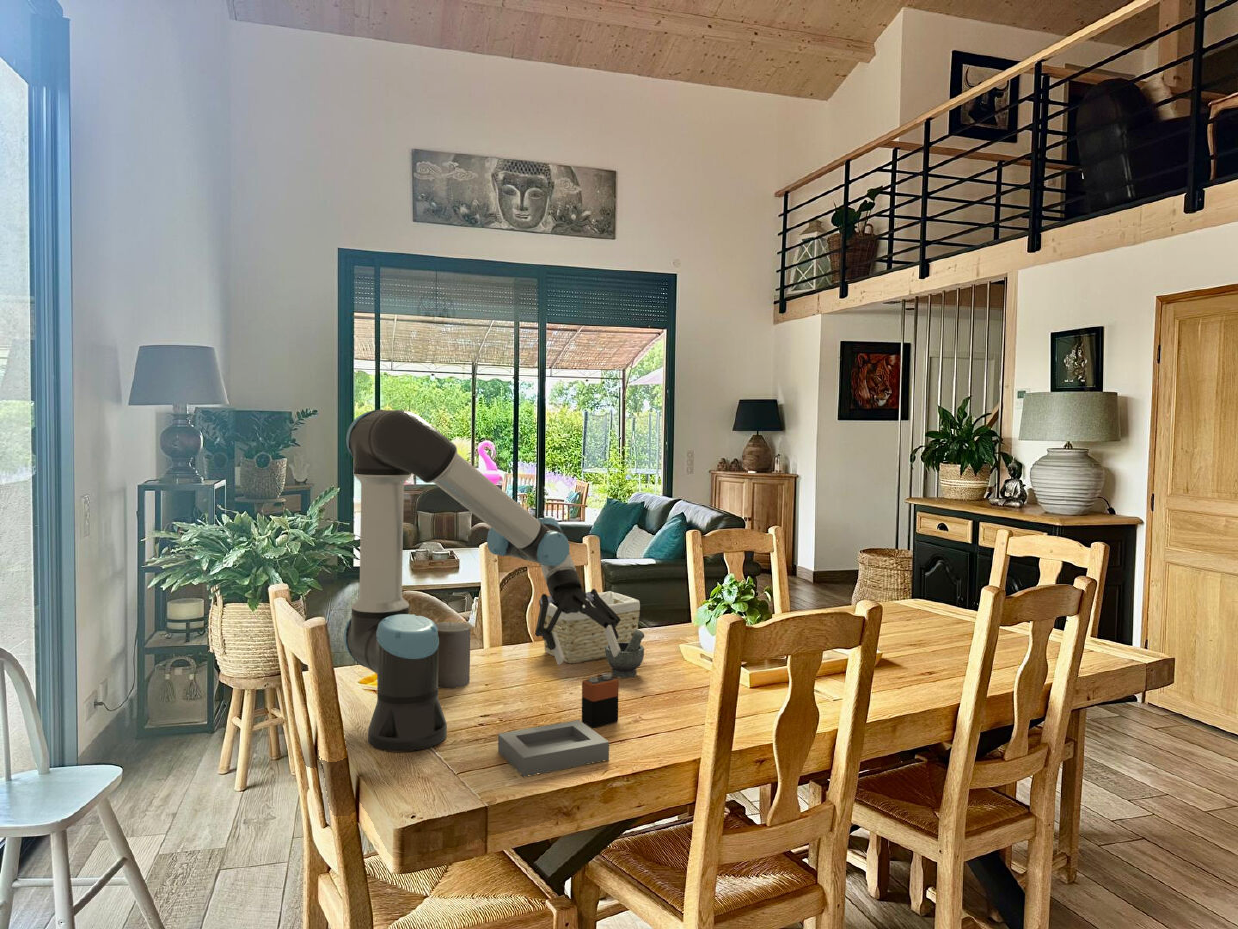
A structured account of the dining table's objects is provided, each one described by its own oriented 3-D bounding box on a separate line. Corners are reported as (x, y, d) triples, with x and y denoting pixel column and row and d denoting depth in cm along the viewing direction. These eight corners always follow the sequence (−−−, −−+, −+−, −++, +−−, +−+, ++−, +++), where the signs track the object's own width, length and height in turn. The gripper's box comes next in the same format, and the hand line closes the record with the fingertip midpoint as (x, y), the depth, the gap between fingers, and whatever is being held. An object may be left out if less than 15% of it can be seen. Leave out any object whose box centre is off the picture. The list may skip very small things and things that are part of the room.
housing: (523, 777, 151) (523, 757, 150) (498, 751, 162) (498, 733, 162) (608, 760, 159) (609, 742, 158) (578, 737, 170) (579, 719, 170)
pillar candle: (421, 686, 201) (422, 623, 200) (441, 674, 210) (442, 614, 210) (458, 691, 198) (459, 627, 197) (477, 679, 208) (478, 618, 207)
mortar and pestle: (597, 673, 213) (597, 626, 212) (624, 666, 219) (624, 620, 219) (628, 684, 205) (628, 634, 204) (655, 676, 211) (656, 628, 211)
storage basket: (565, 667, 219) (566, 610, 218) (536, 652, 233) (536, 598, 232) (642, 654, 232) (643, 600, 231) (610, 640, 246) (611, 590, 245)
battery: (619, 722, 179) (619, 675, 178) (592, 729, 175) (593, 681, 174) (606, 716, 182) (607, 670, 182) (580, 723, 178) (581, 675, 178)
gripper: (603, 581, 206) (633, 658, 194) (506, 590, 194) (531, 673, 182) (614, 563, 201) (645, 641, 189) (515, 571, 189) (541, 655, 177)
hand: (589, 657), depth 185 cm, fingers open, 13 cm apart
